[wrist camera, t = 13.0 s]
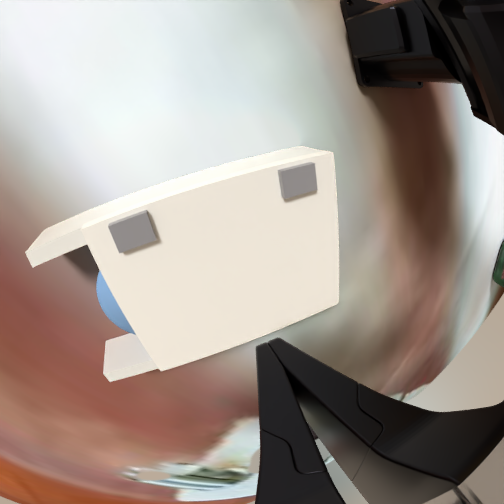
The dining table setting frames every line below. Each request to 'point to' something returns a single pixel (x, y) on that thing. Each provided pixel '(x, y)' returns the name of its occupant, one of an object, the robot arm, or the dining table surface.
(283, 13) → the dining table surface
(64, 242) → the white channel bracket
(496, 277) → the coffee jar
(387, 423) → the robot arm
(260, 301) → the cover
